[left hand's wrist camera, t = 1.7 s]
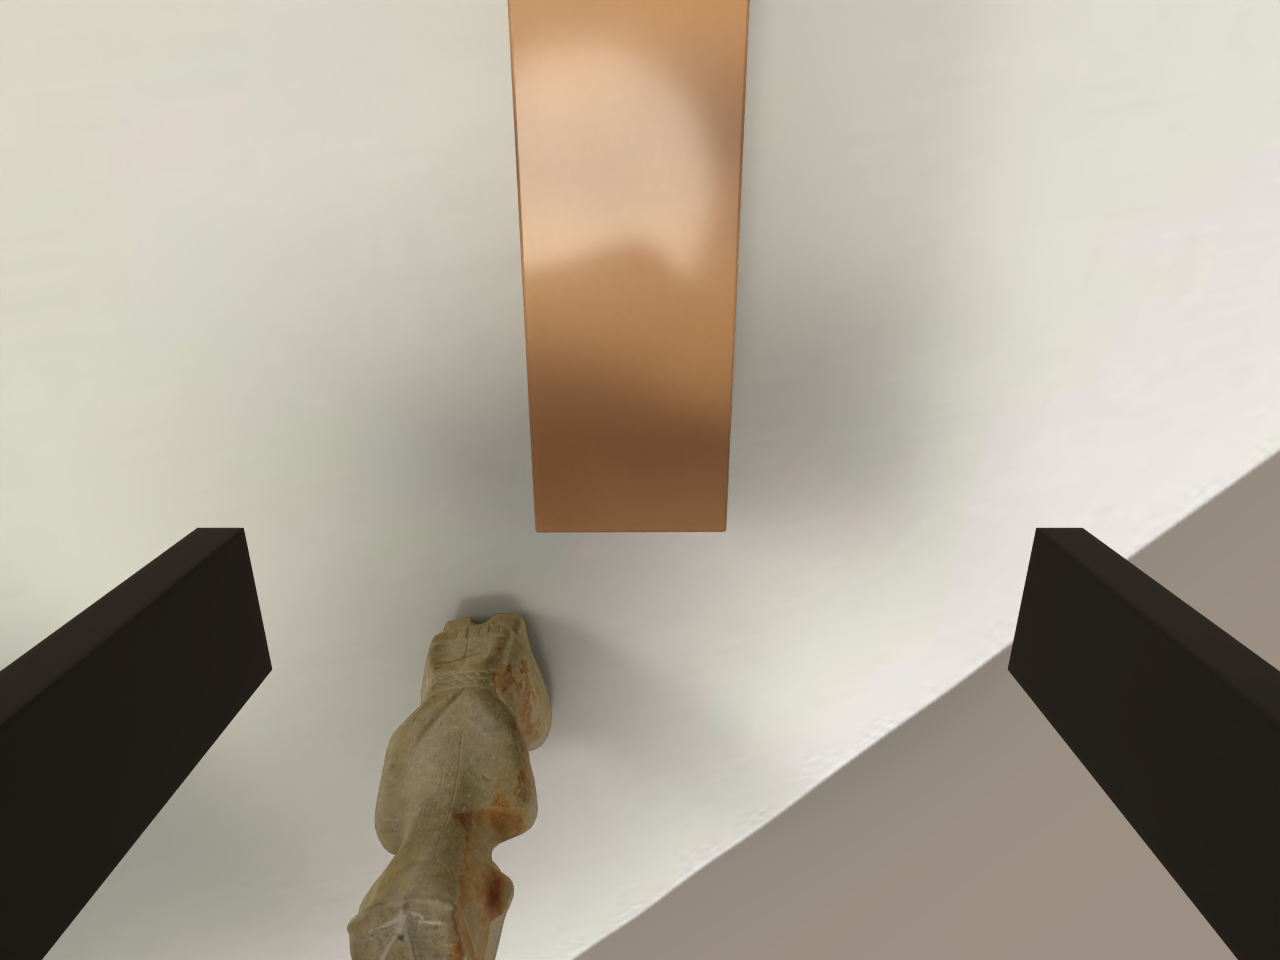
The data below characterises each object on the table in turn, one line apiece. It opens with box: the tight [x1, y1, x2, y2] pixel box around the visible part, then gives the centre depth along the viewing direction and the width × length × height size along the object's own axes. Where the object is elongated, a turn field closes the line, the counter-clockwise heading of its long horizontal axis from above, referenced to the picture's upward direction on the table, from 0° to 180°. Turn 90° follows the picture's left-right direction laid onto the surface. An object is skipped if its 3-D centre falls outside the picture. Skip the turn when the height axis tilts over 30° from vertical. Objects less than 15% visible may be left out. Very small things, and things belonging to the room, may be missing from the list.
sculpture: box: [347, 613, 552, 960], centre depth 28 cm, size 6×7×15 cm
